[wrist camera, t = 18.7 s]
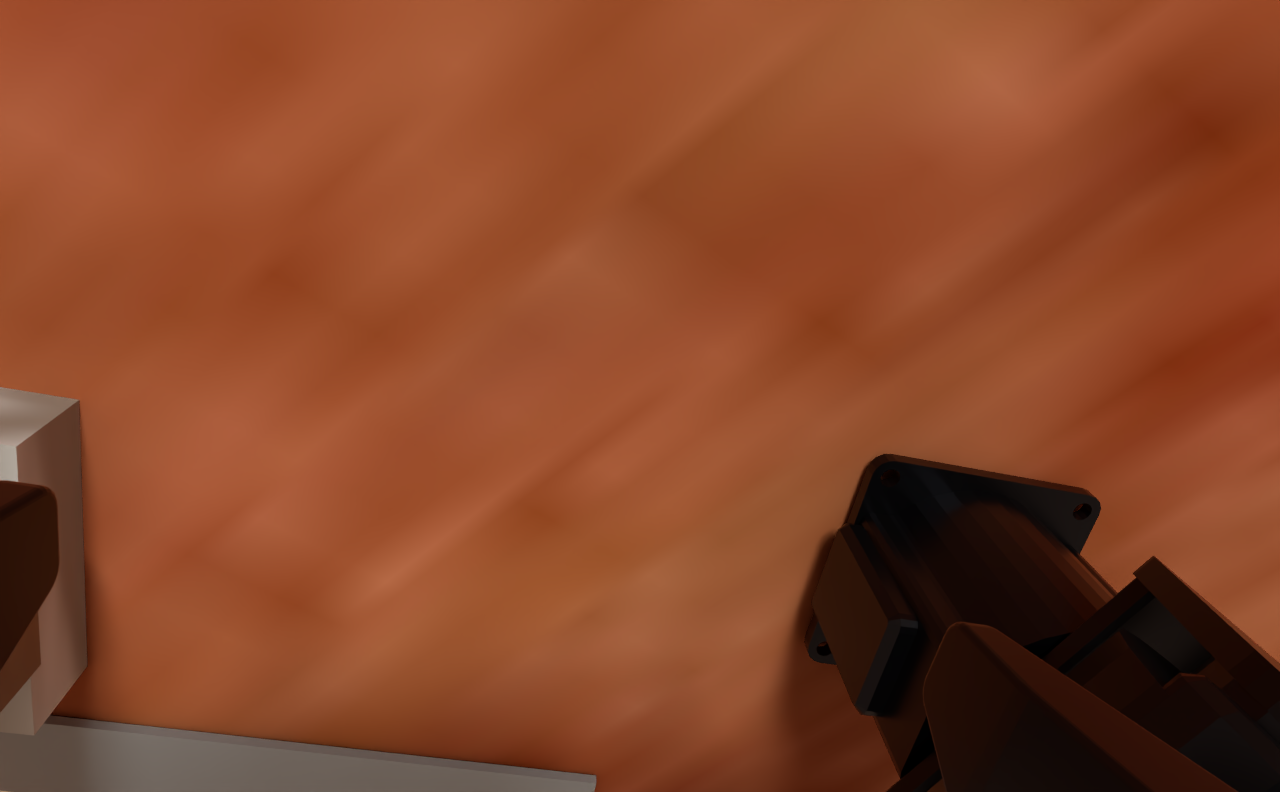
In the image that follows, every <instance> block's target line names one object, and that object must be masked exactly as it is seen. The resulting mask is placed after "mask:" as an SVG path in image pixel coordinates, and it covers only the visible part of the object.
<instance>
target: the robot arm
mask: <svg viewBox="0 0 1280 792" xmlns="http://www.w3.org/2000/svg"><path fill="white" fill-rule="evenodd" d="M887 470H895V471H894V474H893V475H892V477H890V478H888V479H883V480H882V479H881V476H882V474H883V473H884V472H886V471H887ZM1080 504H1083V506H1082V507H1081V508H1080V510H1078V511H1076V512H1073V511H1074V509H1075V508H1076V507H1077V506H1078V505H1080ZM1100 510H1101V506H1100V502H1099V501H1098V500H1097V498H1096V497H1094V496H1093V495H1092V494H1091V493H1090V492H1089V491H1088V490H1085V489H1083V488H1079V487H1073V486H1067V485H1062V484H1056V483H1051V482H1045V481H1039V480H1034V479H1028V478H1023V477H1017V476H1011V475H1006V474H1000V473H995V472H989V471H983V470H978V469H972V468H967V467H961V466H955V465H950V464H944V463H939V462H933V461H927V460H922V459H916V458H911V457H905V456H899V455H894V454H883V455H880V456H878V457H876V458H875V459H874V460H872V461H871V462H870V464H869V466H868V467H867V470H866V472H865V475H864V478H863V481H862V483H861V486H860V489H859V491H858V494H857V497H856V500H855V502H854V505H853V508H852V511H851V513H850V516H849V519H848V521H847V523H846V524H844V525H843V526H842V527H841V528H839V529H838V531H837V533H836V536H835V539H834V541H833V544H832V547H831V550H830V552H829V555H828V558H827V561H826V563H825V566H824V569H823V572H822V574H821V577H820V580H819V583H818V585H817V588H816V591H815V594H814V596H813V599H812V607H813V609H814V614H813V617H812V619H811V622H810V625H809V627H808V630H807V633H806V636H805V641H804V643H805V646H806V648H807V651H808V653H809V656H810V658H812V659H813V660H814V661H817V662H820V663H827V664H834V665H837V667H838V669H839V672H840V674H841V676H842V679H843V681H844V684H845V686H846V688H847V691H848V693H849V696H850V698H851V700H852V703H853V704H854V706H855V707H856V709H857V710H858V712H859V713H860V714H861V715H867V716H873V718H874V720H875V722H876V724H877V727H878V729H879V731H880V734H881V736H882V738H883V740H884V743H885V745H886V747H887V749H888V752H889V754H890V756H891V759H892V761H893V763H894V765H895V768H896V770H897V772H898V775H899V777H900V780H899V781H898V782H897V783H895V784H894V785H893V786H892V787H891V788H890V789H888V790H887V791H886V792H1280V663H1279V662H1277V661H1276V660H1275V659H1274V658H1273V657H1272V656H1270V655H1269V654H1268V653H1267V652H1266V651H1265V650H1263V649H1262V648H1261V647H1260V646H1259V645H1258V644H1256V643H1255V642H1254V641H1253V640H1252V639H1251V638H1249V637H1248V636H1247V635H1246V634H1245V633H1244V632H1242V631H1241V630H1240V629H1239V628H1238V627H1237V626H1235V625H1234V624H1233V623H1232V622H1231V621H1230V620H1228V619H1227V618H1226V617H1225V616H1224V615H1222V614H1221V613H1220V612H1219V611H1218V610H1217V609H1215V608H1214V607H1213V606H1212V605H1211V604H1210V603H1208V602H1207V601H1206V600H1205V599H1204V598H1203V597H1201V596H1200V595H1199V594H1198V593H1197V592H1196V591H1194V590H1193V589H1192V588H1191V587H1190V586H1189V585H1187V584H1186V583H1185V582H1184V581H1183V580H1182V579H1180V578H1179V577H1178V576H1177V575H1176V574H1175V573H1173V572H1172V571H1171V570H1170V569H1169V568H1168V567H1166V566H1165V565H1164V564H1163V563H1162V562H1161V561H1159V560H1158V559H1157V558H1156V557H1155V556H1152V557H1151V558H1150V559H1149V560H1148V561H1146V562H1145V563H1144V564H1143V565H1142V566H1141V567H1139V568H1138V569H1137V570H1136V571H1135V572H1134V573H1133V574H1134V575H1135V576H1136V578H1135V579H1134V580H1133V581H1132V582H1131V583H1129V584H1128V585H1127V586H1126V587H1125V588H1124V589H1122V590H1121V591H1120V592H1119V593H1117V592H1116V591H1115V590H1114V589H1113V588H1112V587H1111V586H1110V585H1109V584H1108V583H1107V582H1106V581H1105V580H1104V579H1103V578H1102V577H1101V575H1100V574H1099V573H1098V572H1097V571H1096V570H1095V569H1094V568H1093V567H1092V566H1091V565H1090V564H1089V563H1088V562H1087V561H1086V560H1085V559H1084V558H1083V557H1082V556H1081V555H1080V552H1081V550H1082V548H1083V546H1084V544H1085V542H1086V540H1087V538H1088V536H1089V534H1090V532H1091V530H1092V528H1093V526H1094V524H1095V522H1096V520H1097V518H1098V516H1099V513H1100ZM59 565H60V551H59V526H58V504H57V498H56V496H55V493H54V492H53V491H52V490H51V489H50V488H48V487H46V486H42V485H35V484H29V483H22V482H15V481H9V480H0V672H1V671H2V669H3V667H4V666H5V664H6V662H7V661H8V659H9V658H10V656H11V654H12V653H13V651H14V649H15V648H16V646H17V645H18V643H19V641H20V640H21V638H22V636H23V635H24V633H25V632H26V630H27V628H28V627H29V625H30V624H31V622H32V620H33V619H34V617H35V615H36V614H37V612H38V611H39V609H40V607H41V606H42V604H43V602H44V601H45V599H46V598H47V596H48V594H49V593H50V591H51V589H52V587H53V586H54V583H55V581H56V578H57V575H58V571H59ZM825 641H827V643H828V644H826V645H825V646H818V645H819V644H820V643H822V642H825Z"/></svg>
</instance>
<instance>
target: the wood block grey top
mask: <svg viewBox="0 0 1280 792" xmlns="http://www.w3.org/2000/svg"><path fill="white" fill-rule="evenodd" d="M0 480H9V481H15V482H22V483H29V484H35V485H42V486H46V487H48V488H50V489H51V490H52V491H53V492H54V493H55V496H56V498H57V504H58V526H59V551H60V565H59V571H58V575H57V578H56V581H55V583H54V586H53V587H52V589H51V591H50V593H49V594H48V596H47V598H46V599H45V601H44V602H43V604H42V606H41V607H40V609H39V611H38V612H37V614H36V615H35V617H34V619H33V620H32V622H31V624H30V625H29V627H28V628H27V630H26V632H25V633H24V635H23V636H22V638H21V640H20V641H19V643H18V645H17V646H16V648H15V649H14V651H13V653H12V654H11V656H10V658H9V659H8V661H7V662H6V664H5V666H4V667H3V669H2V671H1V672H0V732H5V733H15V734H25V735H35V734H36V732H37V731H38V730H39V729H40V727H41V726H42V725H43V723H44V722H45V721H46V719H47V718H48V717H49V716H50V714H51V713H52V712H53V710H54V709H55V708H56V706H57V705H58V704H59V702H60V701H61V700H62V699H63V697H64V696H65V695H66V693H67V692H68V691H69V689H70V688H71V687H72V686H73V684H74V683H75V682H76V680H77V679H78V678H79V676H80V675H81V674H82V673H83V671H84V670H85V669H86V667H87V635H86V603H85V571H84V538H83V506H82V474H81V441H80V409H79V400H77V399H70V398H64V397H58V396H52V395H46V394H39V393H33V392H27V391H21V390H15V389H8V388H2V387H0Z"/></svg>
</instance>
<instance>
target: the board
mask: <svg viewBox="0 0 1280 792" xmlns="http://www.w3.org/2000/svg"><path fill="white" fill-rule="evenodd" d="M595 786H596V775H587V774H578V773H569V772H560V771H551V770H542V769H533V768H524V767H515V766H505V765H496V764H487V763H478V762H469V761H460V760H451V759H442V758H433V757H424V756H415V755H406V754H396V753H387V752H378V751H369V750H360V749H351V748H342V747H333V746H324V745H315V744H306V743H297V742H288V741H278V740H269V739H260V738H251V737H242V736H233V735H224V734H215V733H206V732H197V731H188V730H179V729H169V728H160V727H151V726H142V725H133V724H124V723H115V722H106V721H97V720H88V719H79V718H70V717H61V716H51V715H50V716H49V717H48V718H47V719H46V721H45V722H44V723H43V725H42V726H41V727H40V729H39V730H38V731H37V732H36V734H35V735H25V734H15V733H5V732H0V792H594V790H595Z"/></svg>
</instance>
